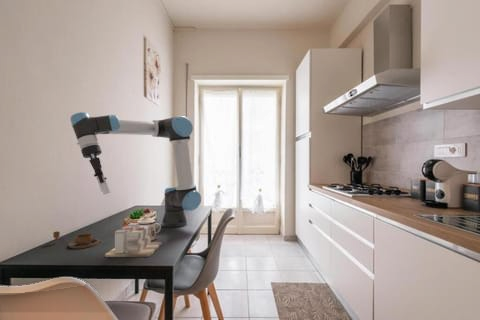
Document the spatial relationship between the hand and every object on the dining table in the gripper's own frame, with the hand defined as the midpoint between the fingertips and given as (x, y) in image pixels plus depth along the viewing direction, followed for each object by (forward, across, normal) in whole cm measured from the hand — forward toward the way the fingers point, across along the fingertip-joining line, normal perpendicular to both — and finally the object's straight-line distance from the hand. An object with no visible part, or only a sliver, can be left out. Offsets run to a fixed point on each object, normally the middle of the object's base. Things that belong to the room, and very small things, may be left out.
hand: (106, 192), depth 121 cm
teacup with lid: (+27, -16, +11) cm, 34 cm away
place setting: (+17, -21, -19) cm, 33 cm away
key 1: (+26, +5, -2) cm, 26 cm away
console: (+28, 0, +3) cm, 28 cm away
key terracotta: (+26, -1, +1) cm, 26 cm away
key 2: (+25, -7, +3) cm, 26 cm away
